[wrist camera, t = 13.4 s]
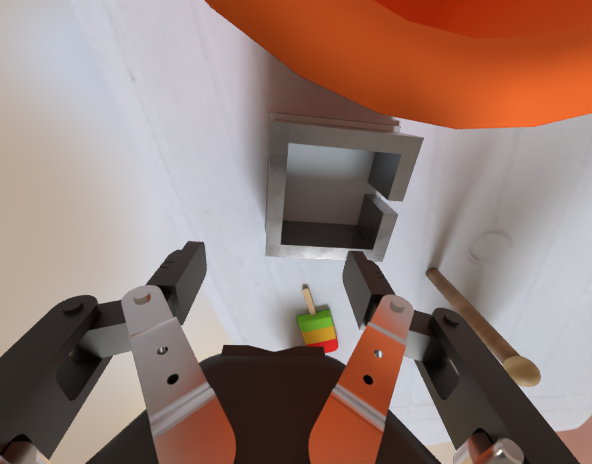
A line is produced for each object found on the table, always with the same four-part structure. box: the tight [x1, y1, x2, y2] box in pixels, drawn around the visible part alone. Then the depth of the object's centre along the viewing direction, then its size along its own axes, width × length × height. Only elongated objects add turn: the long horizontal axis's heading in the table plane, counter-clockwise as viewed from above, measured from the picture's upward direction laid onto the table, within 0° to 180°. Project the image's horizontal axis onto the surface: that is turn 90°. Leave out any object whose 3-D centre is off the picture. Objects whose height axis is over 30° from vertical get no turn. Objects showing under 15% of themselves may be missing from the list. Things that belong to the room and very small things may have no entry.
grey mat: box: [266, 112, 401, 232], centre depth 28 cm, size 14×14×1 cm
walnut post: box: [426, 268, 541, 387], centre depth 28 cm, size 3×3×16 cm
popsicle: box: [297, 288, 338, 353], centre depth 39 cm, size 6×15×2 cm, turn 14°
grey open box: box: [265, 118, 424, 262], centre depth 25 cm, size 13×13×6 cm
